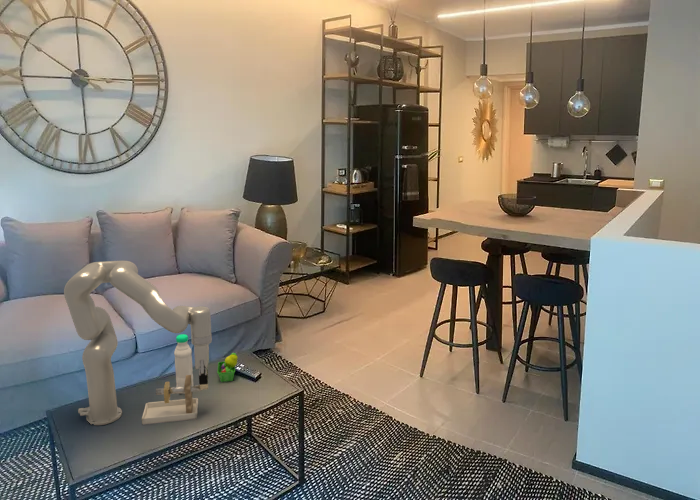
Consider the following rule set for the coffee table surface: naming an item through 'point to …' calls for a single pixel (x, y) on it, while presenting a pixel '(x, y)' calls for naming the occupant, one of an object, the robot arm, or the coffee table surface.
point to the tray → (168, 411)
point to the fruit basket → (227, 368)
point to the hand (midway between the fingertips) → (203, 381)
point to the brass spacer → (166, 392)
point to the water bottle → (183, 360)
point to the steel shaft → (182, 389)
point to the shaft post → (188, 394)
